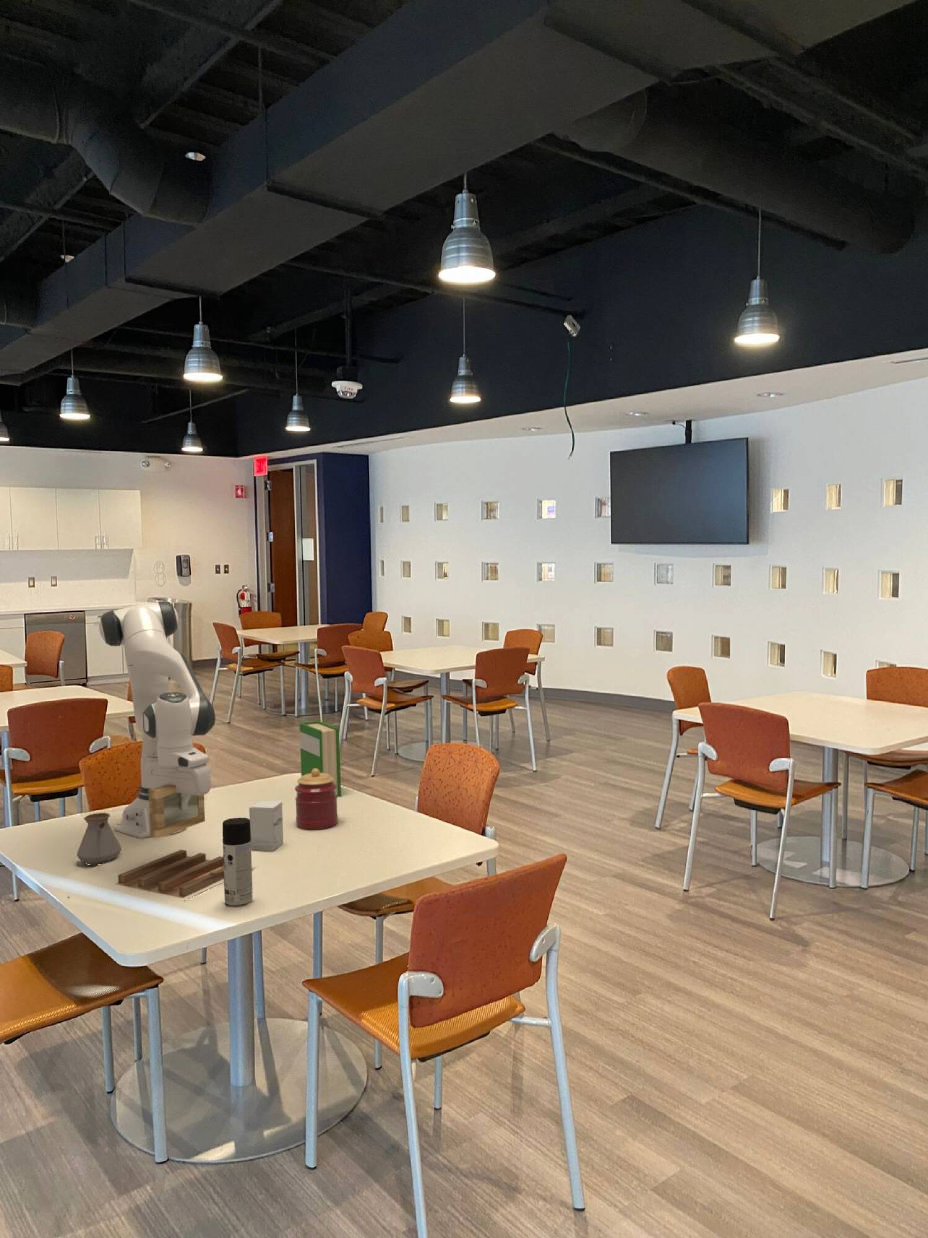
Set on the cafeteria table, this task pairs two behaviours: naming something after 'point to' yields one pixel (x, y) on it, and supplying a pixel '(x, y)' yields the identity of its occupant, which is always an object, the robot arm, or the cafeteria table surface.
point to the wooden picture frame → (172, 811)
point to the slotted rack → (175, 874)
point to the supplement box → (266, 825)
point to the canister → (316, 801)
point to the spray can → (237, 861)
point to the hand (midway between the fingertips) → (177, 808)
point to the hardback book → (320, 750)
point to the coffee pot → (98, 841)
